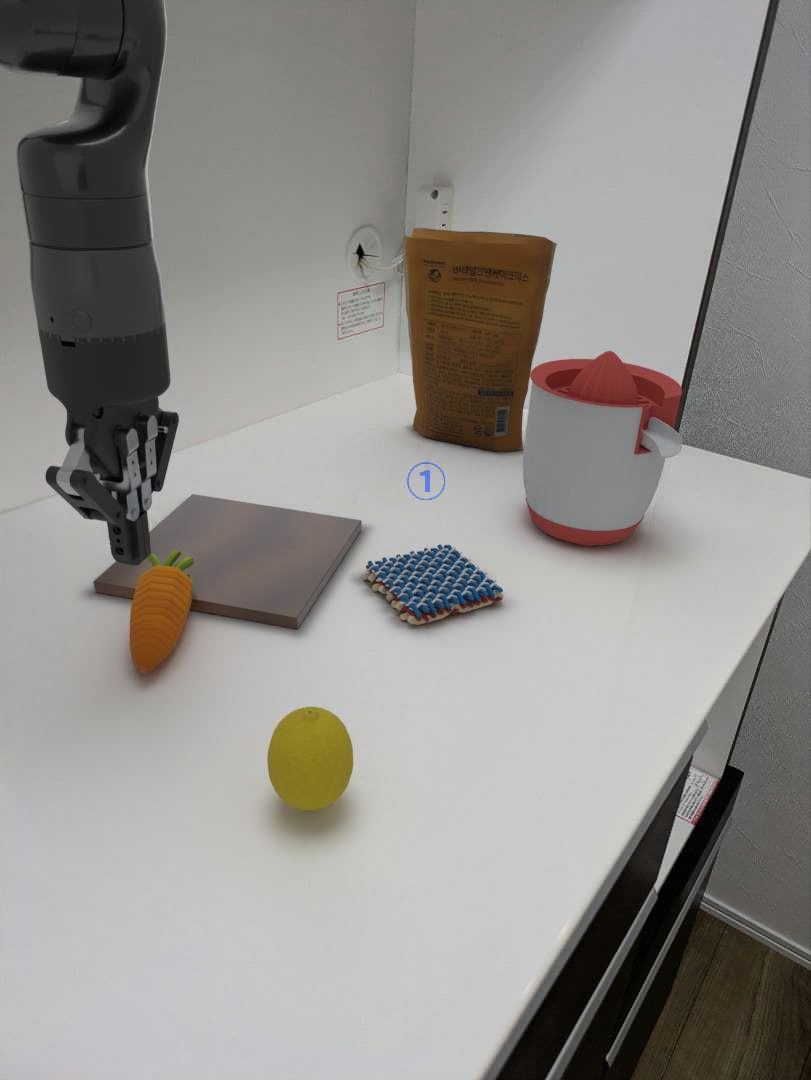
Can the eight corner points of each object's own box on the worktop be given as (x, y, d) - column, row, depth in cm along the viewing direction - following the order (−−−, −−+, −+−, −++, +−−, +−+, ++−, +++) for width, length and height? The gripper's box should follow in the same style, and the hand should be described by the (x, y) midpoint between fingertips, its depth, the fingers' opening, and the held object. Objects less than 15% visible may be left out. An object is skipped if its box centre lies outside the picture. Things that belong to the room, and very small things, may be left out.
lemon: (252, 802, 55) (247, 709, 52) (317, 762, 59) (316, 672, 55) (304, 851, 52) (302, 755, 48) (369, 806, 56) (372, 714, 52)
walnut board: (94, 592, 77) (93, 581, 77) (193, 503, 94) (192, 493, 94) (297, 629, 73) (297, 618, 73) (361, 529, 91) (361, 520, 90)
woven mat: (448, 555, 86) (449, 538, 85) (507, 605, 78) (509, 587, 77) (358, 576, 82) (359, 559, 81) (411, 632, 74) (412, 613, 73)
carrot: (99, 656, 63) (138, 539, 75) (125, 699, 66) (159, 580, 78) (160, 643, 63) (191, 528, 75) (184, 687, 66) (210, 570, 78)
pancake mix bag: (523, 463, 109) (550, 240, 96) (391, 436, 116) (400, 223, 102) (536, 446, 115) (564, 233, 101) (410, 421, 121) (421, 218, 108)
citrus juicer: (604, 580, 83) (640, 388, 74) (484, 515, 95) (502, 342, 86) (692, 538, 92) (735, 363, 83) (573, 483, 104) (598, 324, 95)
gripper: (106, 290, 58) (133, 512, 66) (-25, 335, 46) (28, 597, 54) (206, 301, 56) (220, 527, 64) (96, 351, 45) (131, 617, 53)
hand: (132, 559), depth 59 cm, fingers closed
